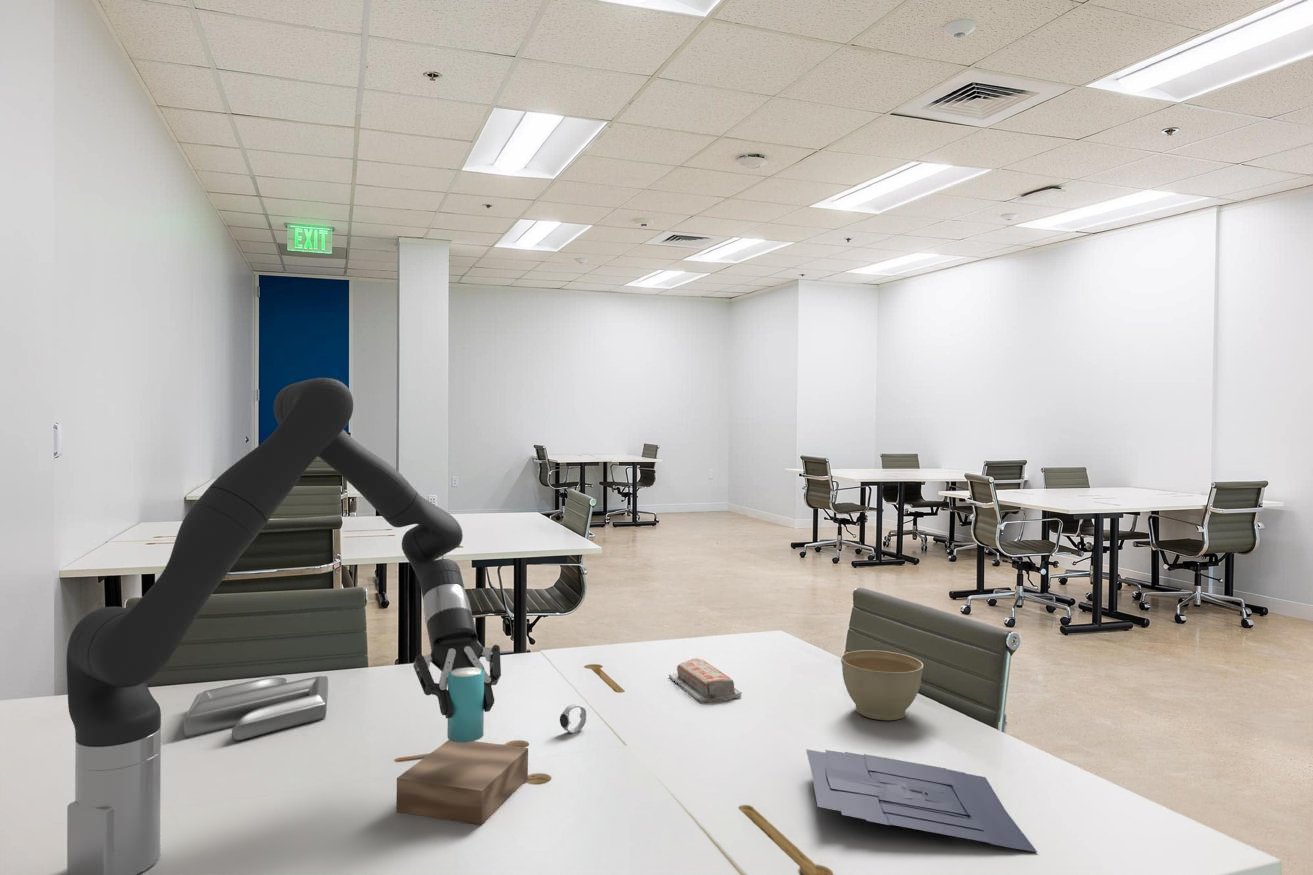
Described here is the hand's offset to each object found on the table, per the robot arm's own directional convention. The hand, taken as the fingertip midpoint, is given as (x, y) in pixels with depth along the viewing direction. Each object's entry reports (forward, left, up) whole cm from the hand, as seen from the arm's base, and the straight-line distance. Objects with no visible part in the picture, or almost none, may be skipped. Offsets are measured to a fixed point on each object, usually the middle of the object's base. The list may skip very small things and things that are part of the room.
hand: (469, 712), depth 124 cm
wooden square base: (+1, +1, -13) cm, 14 cm away
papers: (+18, -66, -14) cm, 69 cm away
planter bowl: (+58, -62, -14) cm, 86 cm away
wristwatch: (+30, -6, -14) cm, 34 cm away
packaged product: (+63, -24, -14) cm, 69 cm away
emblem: (+20, +56, -14) cm, 61 cm away
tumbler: (+1, +1, -4) cm, 5 cm away
